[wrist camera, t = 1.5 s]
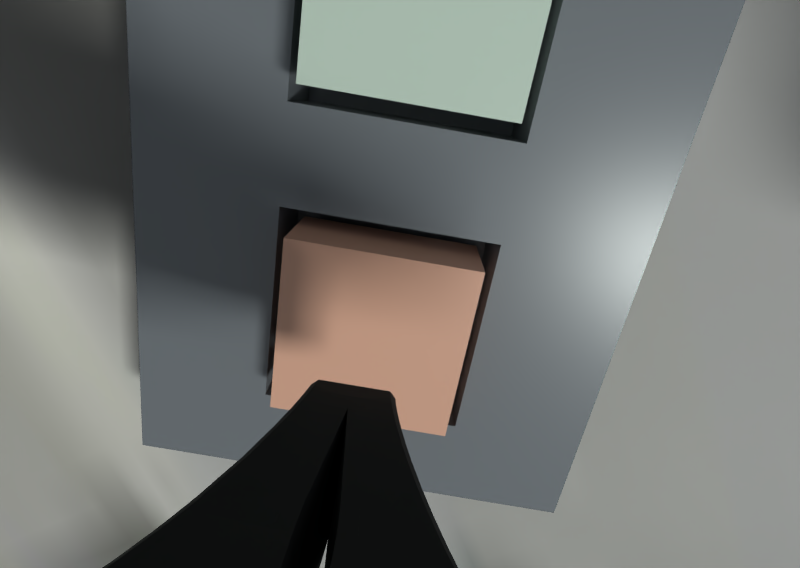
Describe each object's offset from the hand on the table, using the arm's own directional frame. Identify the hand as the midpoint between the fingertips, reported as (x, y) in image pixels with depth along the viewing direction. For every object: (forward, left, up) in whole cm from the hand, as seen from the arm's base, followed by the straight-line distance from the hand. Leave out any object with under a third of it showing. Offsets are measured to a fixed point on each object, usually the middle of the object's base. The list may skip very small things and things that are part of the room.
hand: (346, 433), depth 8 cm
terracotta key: (0, 0, -5) cm, 5 cm away
